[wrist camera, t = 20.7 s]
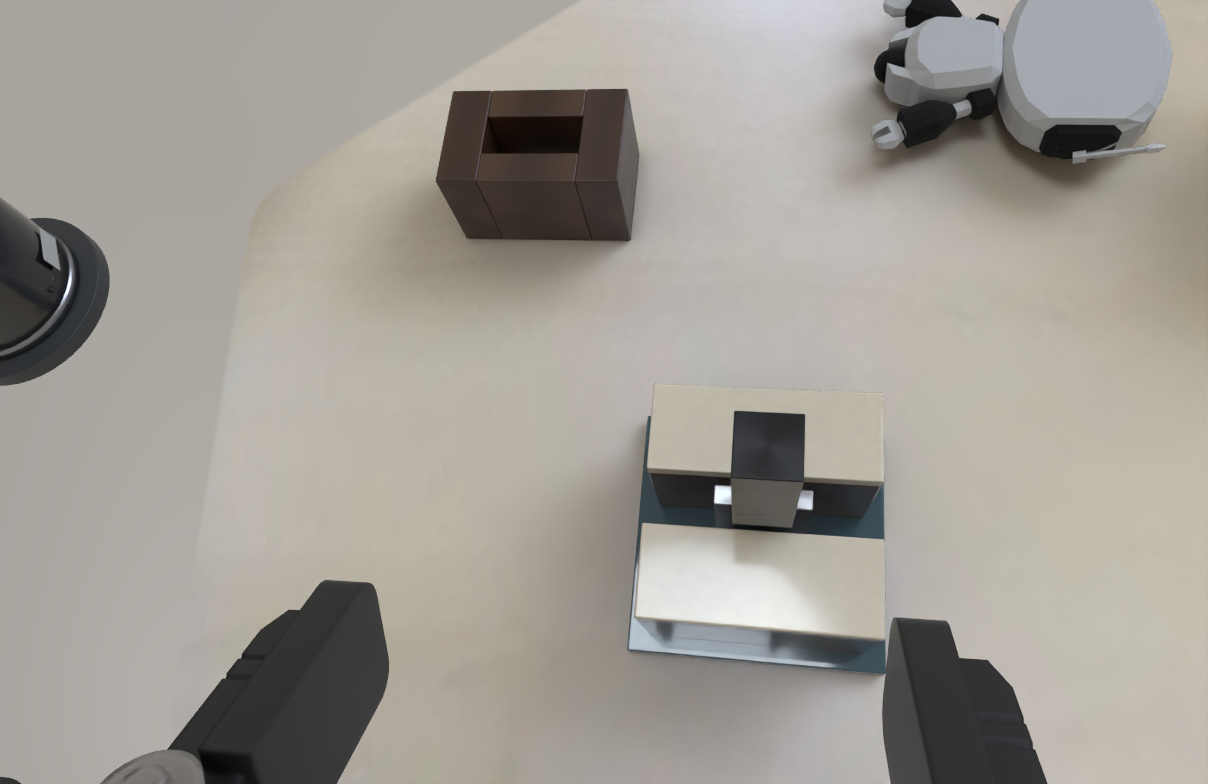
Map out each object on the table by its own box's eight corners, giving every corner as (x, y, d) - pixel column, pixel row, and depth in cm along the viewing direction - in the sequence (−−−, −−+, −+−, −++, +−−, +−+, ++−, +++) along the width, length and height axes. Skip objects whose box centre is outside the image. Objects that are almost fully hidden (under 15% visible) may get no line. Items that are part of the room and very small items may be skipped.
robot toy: (862, 184, 52) (1151, 192, 48) (867, 135, 47) (1183, 140, 43) (878, 19, 56) (1145, 15, 52) (884, -39, 51) (1174, -49, 48)
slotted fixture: (628, 651, 43) (607, 635, 36) (649, 420, 47) (633, 365, 40) (883, 675, 41) (912, 663, 34) (881, 431, 45) (907, 376, 38)
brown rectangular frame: (466, 238, 53) (435, 181, 48) (481, 155, 55) (452, 90, 50) (630, 241, 51) (617, 181, 46) (639, 154, 54) (628, 87, 48)
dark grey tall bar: (716, 558, 43) (706, 476, 29) (719, 510, 44) (710, 409, 30) (799, 564, 43) (829, 483, 29) (801, 516, 43) (829, 414, 30)
